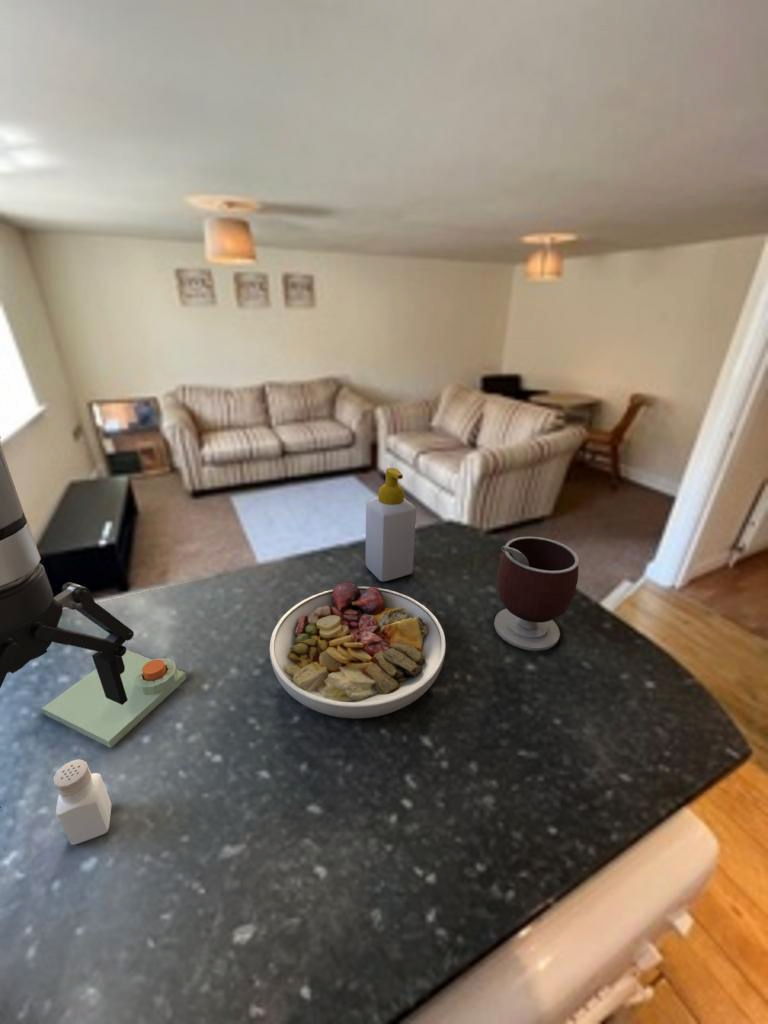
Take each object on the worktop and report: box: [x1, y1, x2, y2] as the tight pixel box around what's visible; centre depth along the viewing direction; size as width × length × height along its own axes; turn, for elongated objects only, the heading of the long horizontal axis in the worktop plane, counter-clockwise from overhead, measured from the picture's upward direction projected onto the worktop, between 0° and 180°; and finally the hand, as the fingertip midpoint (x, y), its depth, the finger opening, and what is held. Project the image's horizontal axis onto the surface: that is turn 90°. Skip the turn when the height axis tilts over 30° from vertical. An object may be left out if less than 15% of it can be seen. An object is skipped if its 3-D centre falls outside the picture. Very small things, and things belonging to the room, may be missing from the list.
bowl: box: [269, 581, 446, 719], centre depth 78 cm, size 30×30×8 cm
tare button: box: [142, 658, 166, 681], centre depth 71 cm, size 3×3×2 cm
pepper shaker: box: [53, 759, 112, 846], centre depth 51 cm, size 4×4×10 cm
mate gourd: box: [493, 536, 580, 652], centre depth 83 cm, size 16×14×20 cm
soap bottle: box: [365, 467, 417, 583], centre depth 101 cm, size 9×9×25 cm
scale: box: [41, 649, 187, 749], centre depth 70 cm, size 14×14×3 cm
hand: (60, 746), depth 47 cm, fingers open, 13 cm apart
